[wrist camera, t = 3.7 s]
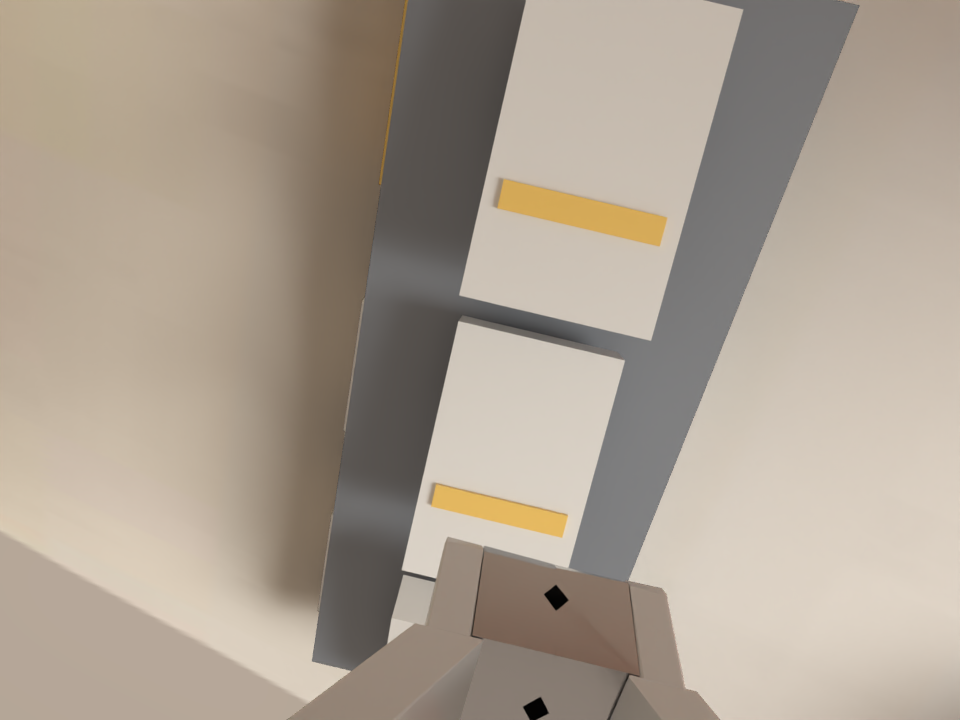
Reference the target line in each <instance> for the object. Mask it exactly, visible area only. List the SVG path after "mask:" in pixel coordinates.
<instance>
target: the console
mask: <svg viewBox="0 0 960 720" xmlns="http://www.w3.org/2000/svg"><path fill="white" fill-rule="evenodd" d="M705 1H709V2H714V3H718V4H722V5H726V6H731V7H735V8H739V9H743V13H742V16H741V20H740V24H739V27H738V31H737V34H736V38H735V42H734V45H733V49H732V52H731V56H730V60H729V63H728V67H727V70H726V74H725V77H724V81H723V85H722V88H721V92H720V95H719V99H718V103H717V106H716V110H715V113H714V117H713V120H712V124H711V128H710V131H709V135H708V138H707V142H706V146H705V149H704V153H703V156H702V160H701V164H700V167H699V171H698V174H697V178H696V181H695V185H694V189H693V192H692V196H691V199H690V203H689V207H688V210H687V214H686V217H685V221H684V224H683V228H682V232H681V235H680V239H679V242H678V246H677V250H676V253H675V257H674V260H673V264H672V267H671V271H670V275H669V278H668V282H667V285H666V289H665V293H664V296H663V300H662V303H661V307H660V311H659V314H658V318H657V321H656V325H655V328H654V332H653V336H652V339H651V341H650V340H645V339H641V338H637V337H633V336H628V335H624V334H620V333H616V332H612V331H607V330H603V329H599V328H595V327H590V326H586V325H582V324H578V323H574V322H569V321H565V320H561V319H557V318H552V317H548V316H544V315H540V314H536V313H531V312H527V311H523V310H519V309H514V308H510V307H506V306H502V305H498V304H493V303H489V302H485V301H481V300H476V299H472V298H468V297H464V296H460V295H459V294H460V289H461V285H462V281H463V276H464V272H465V267H466V263H467V258H468V254H469V250H470V245H471V241H472V236H473V232H474V228H475V223H476V219H477V214H478V210H479V206H480V201H481V197H482V192H483V188H484V184H485V179H486V175H487V170H488V166H489V162H490V157H491V153H492V148H493V144H494V140H495V135H496V131H497V126H498V122H499V117H500V113H501V109H502V104H503V100H504V95H505V91H506V87H507V82H508V78H509V73H510V69H511V65H512V60H513V56H514V51H515V47H516V43H517V38H518V34H519V29H520V25H521V21H522V16H523V12H524V7H525V3H526V0H405V5H404V12H403V19H402V26H401V33H400V40H399V47H398V54H397V61H396V68H395V75H394V82H393V89H392V96H391V102H390V109H389V116H388V123H387V130H386V137H385V144H384V151H383V158H382V165H381V172H380V179H379V185H381V189H380V196H379V203H378V210H377V217H376V224H375V231H374V238H373V244H372V251H371V258H370V265H369V272H368V279H367V286H366V293H365V297H364V299H363V300H362V304H361V311H360V318H359V325H358V332H357V339H356V346H355V353H354V360H353V367H352V374H351V381H350V388H349V395H348V402H347V409H346V416H345V423H344V430H343V431H345V437H344V444H343V451H342V458H341V465H340V472H339V479H338V485H337V492H336V499H335V506H334V510H333V512H332V514H331V520H330V527H329V534H328V541H327V548H326V555H325V562H324V569H323V576H322V583H321V590H320V597H319V604H318V612H319V616H318V623H317V630H316V637H315V644H314V651H313V658H312V661H313V662H317V663H321V664H325V665H329V666H333V667H338V668H342V669H346V670H350V671H352V670H353V669H355V668H356V667H357V666H359V665H360V664H361V663H363V662H364V661H365V660H367V659H368V658H369V657H371V656H372V655H373V654H375V653H376V652H377V651H379V650H380V649H381V648H383V647H384V646H385V645H387V642H388V636H389V630H390V625H391V619H392V615H393V611H394V608H395V604H396V600H397V597H398V593H399V589H400V586H401V582H402V578H403V575H407V576H411V577H415V578H419V579H424V580H428V581H432V582H435V581H436V578H432V577H428V576H424V575H420V574H416V573H412V572H407V571H403V570H402V566H403V562H404V558H405V553H406V549H407V544H408V540H409V536H410V531H411V527H412V523H413V518H414V514H415V509H416V505H417V501H418V496H419V492H420V488H421V483H422V479H423V474H424V470H425V466H426V461H427V457H428V452H429V448H430V444H431V439H432V435H433V431H434V426H435V422H436V417H437V413H438V409H439V404H440V400H441V396H442V391H443V387H444V382H445V378H446V374H447V369H448V365H449V361H450V356H451V352H452V347H453V343H454V339H455V334H456V330H457V325H458V321H459V320H460V318H461V317H462V315H463V316H468V317H472V318H476V319H480V320H484V321H489V322H493V323H497V324H501V325H505V326H510V327H514V328H518V329H522V330H527V331H531V332H535V333H539V334H543V335H548V336H552V337H556V338H560V339H565V340H569V341H573V342H577V343H581V344H586V345H590V346H594V347H598V348H603V349H607V350H611V351H615V352H618V353H619V355H620V356H621V357H622V358H623V359H624V360H625V363H624V366H623V370H622V374H621V377H620V381H619V385H618V388H617V392H616V396H615V399H614V403H613V407H612V410H611V414H610V418H609V421H608V425H607V428H606V432H605V436H604V439H603V443H602V447H601V450H600V454H599V458H598V461H597V465H596V469H595V472H594V476H593V480H592V483H591V487H590V491H589V494H588V498H587V502H586V505H585V509H584V513H583V516H582V520H581V524H580V527H579V531H578V534H577V538H576V542H575V545H574V549H573V553H572V556H571V560H570V564H569V567H568V568H571V569H575V570H579V571H584V572H588V573H592V574H596V575H601V576H605V577H609V578H613V579H618V580H622V581H624V582H625V581H628V580H629V577H630V575H631V572H632V570H633V567H634V565H635V562H636V560H637V557H638V555H639V552H640V550H641V547H642V545H643V542H644V540H645V537H646V535H647V532H648V530H649V527H650V525H651V522H652V520H653V517H654V515H655V512H656V510H657V508H658V505H659V503H660V500H661V498H662V495H663V493H664V490H665V488H666V485H667V483H668V480H669V478H670V475H671V473H672V470H673V468H674V465H675V463H676V460H677V458H678V455H679V453H680V450H681V448H682V445H683V443H684V440H685V438H686V435H687V433H688V430H689V428H690V425H691V423H692V421H693V418H694V416H695V413H696V411H697V408H698V406H699V403H700V401H701V398H702V396H703V393H704V391H705V388H706V386H707V383H708V381H709V378H710V376H711V373H712V371H713V368H714V366H715V363H716V361H717V358H718V356H719V353H720V351H721V348H722V346H723V343H724V341H725V339H726V336H727V334H728V331H729V329H730V326H731V324H732V321H733V319H734V316H735V314H736V311H737V309H738V306H739V304H740V301H741V299H742V296H743V294H744V291H745V289H746V286H747V284H748V281H749V279H750V276H751V274H752V271H753V269H754V266H755V264H756V261H757V259H758V257H759V254H760V252H761V249H762V247H763V244H764V242H765V239H766V237H767V234H768V232H769V229H770V227H771V224H772V222H773V219H774V217H775V214H776V212H777V209H778V207H779V204H780V202H781V199H782V197H783V194H784V192H785V189H786V187H787V184H788V182H789V179H790V177H791V174H792V172H793V170H794V167H795V165H796V162H797V160H798V157H799V155H800V152H801V150H802V147H803V145H804V142H805V140H806V137H807V135H808V132H809V130H810V127H811V125H812V122H813V120H814V117H815V115H816V112H817V110H818V107H819V105H820V102H821V100H822V97H823V95H824V92H825V90H826V88H827V85H828V83H829V80H830V78H831V75H832V73H833V70H834V68H835V65H836V63H837V60H838V58H839V55H840V53H841V50H842V48H843V45H844V43H845V40H846V38H847V35H848V33H849V30H850V28H851V25H852V23H853V20H854V18H855V15H856V13H857V10H858V8H859V5H855V4H851V3H846V2H842V1H838V0H705Z"/></svg>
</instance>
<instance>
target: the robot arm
mask: <svg viewBox="0 0 960 720" xmlns="http://www.w3.org/2000/svg"><path fill="white" fill-rule="evenodd" d="M287 720H720V719H719V718H718V716H717V715H716V714H715V713H714V712H713V710H712V709H711V708H710V707H709V706H708V704H707V703H706V702H705V701H704V700H703V698H702V697H701V696H700V695H699V694H698V692H696V691H692V690H688V689H685V684H684V679H683V674H682V669H681V664H680V659H679V654H678V649H677V644H676V639H675V634H674V629H673V624H672V619H671V614H670V609H669V604H668V599H667V594H666V593H665V592H664V590H663V589H662V588H658V587H653V586H649V585H644V584H640V583H635V582H630V581H625V582H624V581H622V580H618V579H613V578H609V577H605V576H601V575H596V574H592V573H588V572H584V571H579V570H575V569H571V568H567V567H563V566H558V565H555V564H551V563H548V562H544V561H540V560H536V559H533V558H529V557H525V556H521V555H518V554H514V553H510V552H506V551H503V550H499V549H495V548H491V547H488V546H484V548H483V547H482V545H478V544H474V543H470V542H467V541H463V540H459V539H455V538H451V537H447V539H446V542H445V545H444V549H443V553H442V557H441V561H440V565H439V569H438V573H437V577H436V581H435V585H434V589H433V593H432V597H431V601H430V605H429V609H428V613H427V617H426V621H425V625H421V624H416V623H414V624H413V625H412V626H411V627H409V628H408V629H407V630H405V631H404V632H403V633H401V634H400V635H399V636H397V637H396V638H395V639H393V640H392V641H391V642H389V643H388V644H387V645H385V646H384V647H383V648H381V649H380V650H379V651H377V652H376V653H375V654H373V655H372V656H371V657H369V658H368V659H367V660H365V661H364V662H363V663H361V664H360V665H359V666H357V667H356V668H355V669H353V670H352V671H351V672H349V673H348V674H347V675H346V676H344V677H343V678H342V679H340V680H339V681H338V682H336V683H335V684H334V685H332V686H331V687H330V688H328V689H327V690H326V691H324V692H323V693H322V694H320V695H319V696H318V697H316V698H315V699H314V700H312V701H311V702H310V703H308V704H307V705H306V706H304V707H303V708H302V709H301V710H299V711H298V712H296V713H295V714H294V715H293V716H291V717H290V718H288V719H287Z"/></svg>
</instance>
